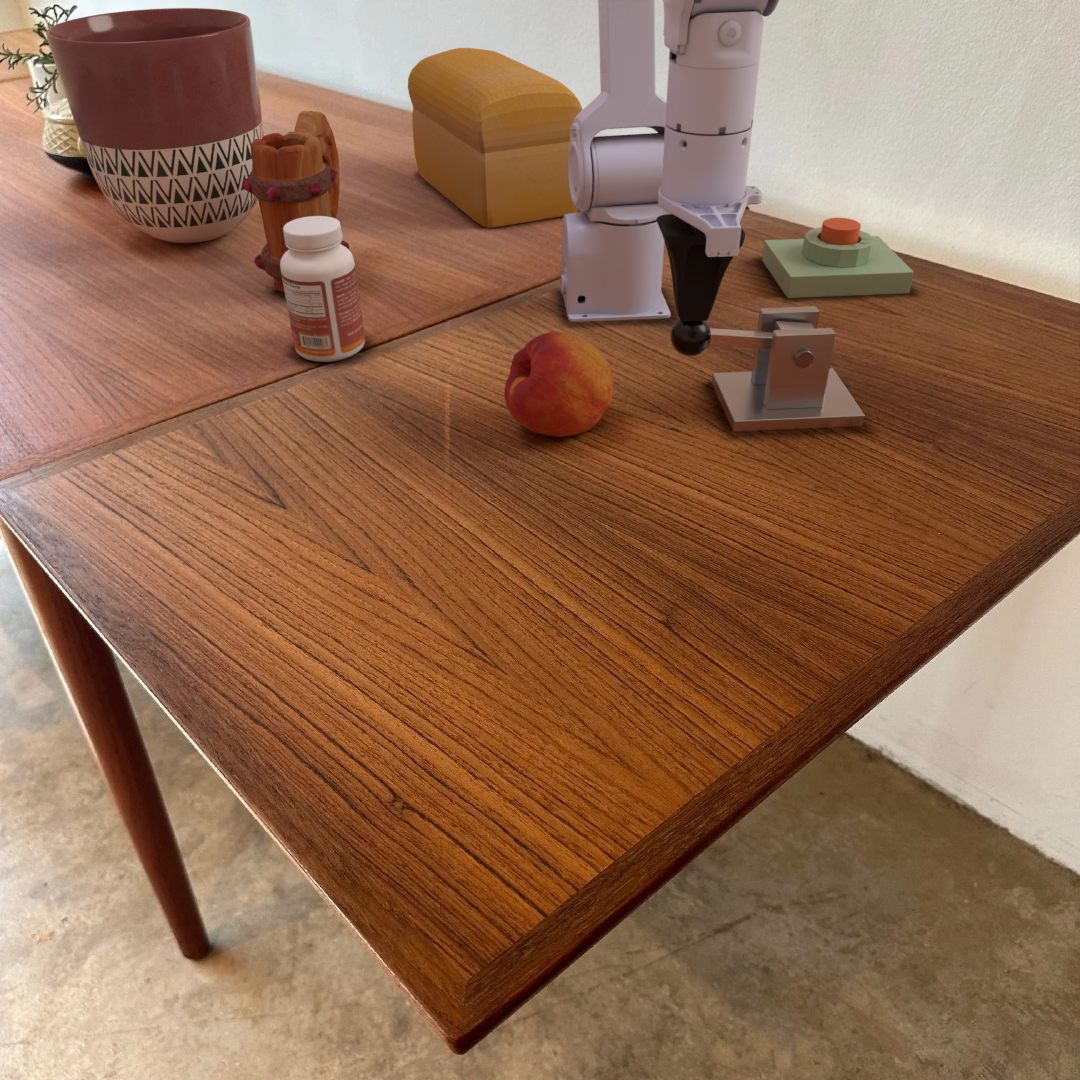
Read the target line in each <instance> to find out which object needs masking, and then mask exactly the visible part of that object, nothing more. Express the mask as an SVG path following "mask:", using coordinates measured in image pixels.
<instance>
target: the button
mask: <svg viewBox="0 0 1080 1080" xmlns="http://www.w3.org/2000/svg"><path fill="white" fill-rule="evenodd" d="M861 226H862V225H861V223H860V222H859V221H857V220H855V219H852V218H848V217H847V218H846V217H831V218H826V219H824V220H823V221H822V225H821V227H822V230H821V237H820V241H823V242H825V243H828V244H834V245H853V244H856V243H858V238H859V233H860V231H861Z"/></svg>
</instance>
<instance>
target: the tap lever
mask: <svg viewBox="0 0 1080 1080" xmlns="http://www.w3.org/2000/svg"><path fill="white" fill-rule="evenodd" d="M794 329H814V327H813V326H812V324H811V323H798V322H783V321H776V323H775V327H774V330H794ZM772 336H773V332H760V331H757V330H743V329H729V328H727V329H726V328H712V327H710V325H709V324H708V322H707V321H686V322H682V321H680V318H679V319H678V320H677V321H676V322H675V323H674V324H673V326H672V328H671V331H670V342H671V345H672V347H673V349H674V350H675V351H676V352H677V353H679V354H680V355H683V356H685V357H694V356H698V355H700V354H702V353H703V352H705V350H706V349H707V348H708V347H721V348H734V349H750V350H755V349H764V350H769V351H770V350H771V343H772Z"/></svg>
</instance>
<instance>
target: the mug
mask: <svg viewBox="0 0 1080 1080" xmlns="http://www.w3.org/2000/svg"><path fill="white" fill-rule="evenodd" d="M251 156H252V162H253V168H254V169H253V170H252V171H251V173H250V175H249V178H247V179H245V180H244V181H243V184H242V186H243V189H245V190H246V191H248V192H250V193H252V194H253V195H254V196H255V197H256V198H258V200H257V202H258V205H259V210H260V215H261V218H262V224H263V230H264V235H265V240H266V243H265V245H264V246H263V248H262V249H261V252H260V254H258V255H257V256H254V260H253V263H254V265H255V267H257V268H258V269H260V270H262V271H265V273H266V274H267V275H268V276H270V277H271V278H272V279H273V280H272V281H273V284H274V288H275V289H276V290H278V291H279V292H281V293H284V294H285V291H284V286H283V280H282V275H281V268H280V261H281V258H282V256H283V255H284V253H285V252H286V251H288V250H289V248H287V247H286V243H285V239H284V232H283V227H284V225H285V224H287V223H288V222H290V221H292V220H295V219H298V218H303V217H310V216H326V217H332V218H335V219H337V218H338V210H339V203H340V202H339V201H340V185H341V183H340V163H339V162H340V160H339V151H338V147H337V143H336V140H335V135H334V132H333V130H332V127H331V125H330V123H329V120H328V119H327V116H326V114H324V113H323V112H321V111H313V110H309V111H308V110H302V111H300V112H299V114H298V115H297V119H296V122H295V126H294V130H293V131H289V132H288V133H286V134H284V135H283V134H281V133H279V132H273V133H269V134H265V135H264V137H263V138H262V139H255V140H254V141H253V142H252V145H251ZM337 220H338V219H337ZM340 244H341V245H343V246H345V247H346V248H347V249H348V250H349V251H350V245H349V243H348V242H347V241H346V240H342V241H341V243H340Z"/></svg>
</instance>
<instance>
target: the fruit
mask: <svg viewBox="0 0 1080 1080" xmlns="http://www.w3.org/2000/svg"><path fill="white" fill-rule="evenodd" d="M613 395H614V376H613V371H612V367H611V364H610V363H609V361H608V360H607V358H606V357H605V355H604V354H603V353H602V352H601V351H600V350H599V349H598V348H597V347H596V346H595V345H593V344H592V343H591V342H589V341H588V340H587V339H585V338H584V337H582V336H580V335H578V334H575V333H571V332H568V331H567V332H566V331H549V332H545V333H542V334H539V335H537V336H535V337H534V338H532V339H530V340H529V341H528V342H527V343H526V344H525V345H524V347H523V348H521V349H519V350H518V351H517V352H516V353H515V354H514V356H513V358H512V361H511V365H510V369H509V374H508V376H507V379H506V381H505V384H504V394H503V396H504V400H505V405H506V408H507V409H508V411H509V413H510V415H511V416H512V418H513V419H515V421H516V422H518V424H519V425H521V426H522V427H523V428H525V429H527V430H529V431H530V432H533V433H536V434H539V435H544V436H547V437H548V436H549V437H555V438H563V437H570V436H576V435H579V434H583V433H586V432H587V431H588V430H590V429H592V428H593V427H595V426H596V424H598V423H599V422H600V420H601V419H602V418H603V416H604V413H605V412H606V410H608V408H609V407H610V405H611V403H612V401H613V400H612V399H613Z"/></svg>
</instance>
